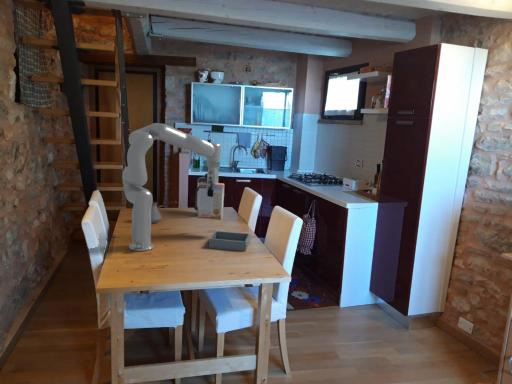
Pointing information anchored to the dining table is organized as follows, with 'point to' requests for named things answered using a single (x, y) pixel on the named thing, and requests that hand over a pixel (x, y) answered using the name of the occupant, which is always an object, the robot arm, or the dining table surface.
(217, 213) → the cracker box
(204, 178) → the coffee press
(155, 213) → the coffee pot
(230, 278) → the dining table surface
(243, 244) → the tray
